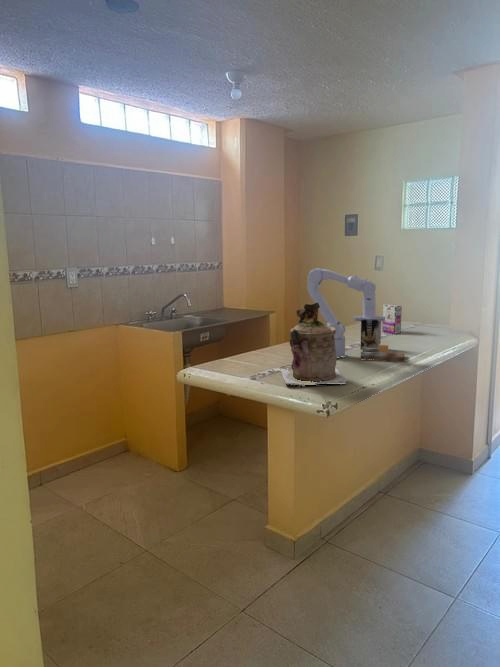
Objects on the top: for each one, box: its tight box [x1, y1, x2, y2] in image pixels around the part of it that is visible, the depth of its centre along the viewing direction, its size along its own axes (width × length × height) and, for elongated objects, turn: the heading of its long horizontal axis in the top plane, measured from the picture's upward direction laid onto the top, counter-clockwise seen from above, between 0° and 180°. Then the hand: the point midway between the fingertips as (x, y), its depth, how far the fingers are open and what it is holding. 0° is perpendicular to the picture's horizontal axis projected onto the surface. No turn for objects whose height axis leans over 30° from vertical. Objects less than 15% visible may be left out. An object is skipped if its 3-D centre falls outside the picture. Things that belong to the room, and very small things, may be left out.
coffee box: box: [360, 319, 382, 349], centre depth 251 cm, size 9×6×16 cm
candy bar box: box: [382, 304, 403, 335], centre depth 291 cm, size 11×5×16 cm, turn 25°
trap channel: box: [360, 348, 406, 363], centre depth 232 cm, size 20×11×4 cm, turn 73°
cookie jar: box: [280, 302, 348, 386], centre depth 200 cm, size 25×25×32 cm
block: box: [379, 343, 389, 355], centre depth 231 cm, size 4×4×4 cm
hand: (369, 336), depth 232 cm, fingers open, 2 cm apart
